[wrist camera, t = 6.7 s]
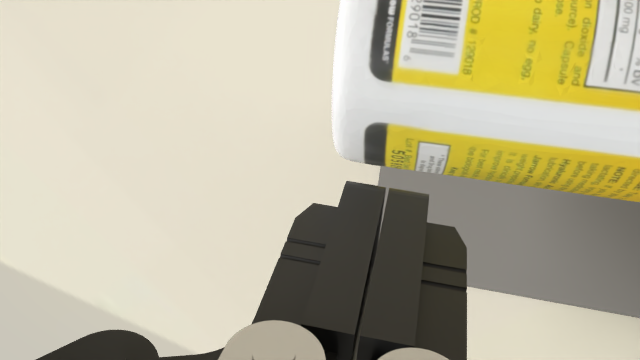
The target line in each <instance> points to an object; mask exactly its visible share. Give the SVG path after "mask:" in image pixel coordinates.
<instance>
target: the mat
mask: <svg viewBox="0 0 640 360" xmlns="http://www.w3.org/2000/svg"><path fill="white" fill-rule="evenodd" d="M378 186H381V187H386V193H385V200H384V207H383V214H382V221H381V227H382V222H383V217H384V212H385V207H386V202H387V197H388V192H389V188H394V189H400V190H406V191H412V192H418V193H425V194H429V205H428V215H427V222H429V223H434V224H440V225H446V226H452V227H455V228H456V230H457V232H458V233H459V235H460V237H461V238H462V240H463V242H464V244H465V245H466V247H467V272H466V274H467V286H468V287H474V288H479V289H484V290H490V291H495V292H501V293H506V294H512V295H517V296H523V297H528V298H533V299H539V300H544V301H550V302H555V303H561V304H566V305H572V306H577V307H583V308H588V309H593V310H599V311H604V312H610V313H615V314H621V315H626V316H632V317H637V318H640V202H634V201H626V200H619V199H612V198H605V197H598V196H591V195H584V194H577V193H570V192H564V191H557V190H549V189H542V188H535V187H528V186H520V185H513V184H506V183H499V182H492V181H485V180H478V179H472V178H465V177H458V176H450V175H443V174H435V173H428V172H421V171H414V170H405V169H397V168H391V167H386V166H381V168H380V175H379V183H378ZM380 232H381V228H380ZM379 237H380V235H379Z"/></svg>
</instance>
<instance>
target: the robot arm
mask: <svg viewBox="0 0 640 360" xmlns="http://www.w3.org/2000/svg"><path fill="white" fill-rule="evenodd" d="M385 193H386V187H381V186H375V185H369V184H362V183H356V182H350V181H346V184H345V186H344V190H343V193H342V196H341V199H340V202H339V205H338V207H333V206H328V205H322V204H316V203H313V204H312V205H311V206H309V207H308V208H307V209H306V210H305V211H303V212H302V213H301V214H300V215H299V216H297V217H296V218H295V220H294V223H293V225H292V228H291V230H290V232H289V235H288V237H287V242H285V245H284V247H283V250H282V252H281V256H280V258H279V259H278V262H277V264H276V267H275V269H274V272H273V274H272V276H271V279H270V281H269V284H268V286H267V289H266V291H265V294H264V296H263V298H262V301H261V303H260V306H259V308H258V311H257V313H256V316H255V318H254V320H253V322H252V324H251V325H249V326H247V327H245V328H243V329H241V330H240V331H239V332H237V333H236V334H235V335H234V336H233V337H232V338H231V339H230V340H229V341H228V343H227V344H226V346H225V347H224V348H222V349H219V350H216V351H213V352H209V353H205V354H198V355H186V356H172V357H159V356H158V353H157V350H156V349H155V347H154V346H153V344H152V343H151V342H150V341H149V340H148V339H146V338H145V337H143V336H141V335H139V334H137V333H134V332H131V331H126V330H106V331H101V332H97V333H93V334H90V335H87V336H85V337H83V338H80V339H78V340H76V341H74V342H72V343H70V344H68V345H66V346H64V347H61V348H59V349H57V350H55V351H53V352H51V353H49V354H47V355H45V356H43V357H40V358H38V359H36V360H467V293H466V289H467V274H466V272H467V247H466V245H465V244H464V242H463V240H462V238H461V237H460V235H459V233H458V232H457V230H456V228H455V227H452V226H446V225H440V224H434V223H429V222H427V215H428V205H429V194H425V193H418V192H412V191H406V190H400V189H394V188H389V192H388V197H387V202H386V207H385V212H384V217H383V222H382V227H381V221H382V214H383V207H384V200H385ZM380 228H381V232H380ZM379 235H380V237H379Z"/></svg>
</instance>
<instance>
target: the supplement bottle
mask: <svg viewBox="0 0 640 360" xmlns="http://www.w3.org/2000/svg"><path fill="white" fill-rule="evenodd" d="M332 134H333V141H334V146H335V148H336V151H337V152H338V153H339V155H340V156H341V157H343V158H345V159H347V160H350V161H354V162H360V163H365V164H371V165H378V166H386V167H391V168H397V169H405V170H414V171H421V172H428V173H435V174H443V175H450V176H458V177H465V178H472V179H478V180H485V181H492V182H499V183H506V184H513V185H520V186H528V187H535V188H542V189H549V190H557V191H564V192H570V193H577V194H584V195H591V196H598V197H605V198H612V199H619V200H626V201H634V202H640V0H340V5H339V12H338V19H337V29H336V39H335V49H334V65H333V82H332Z"/></svg>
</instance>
